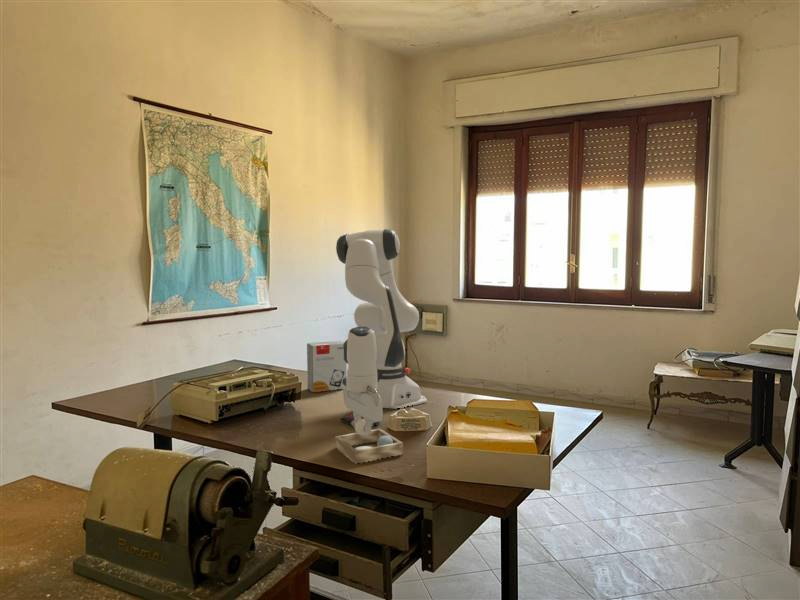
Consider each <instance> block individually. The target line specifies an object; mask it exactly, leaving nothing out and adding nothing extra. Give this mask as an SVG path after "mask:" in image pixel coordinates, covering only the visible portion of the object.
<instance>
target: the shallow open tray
mask: <svg viewBox="0 0 800 600" xmlns="http://www.w3.org/2000/svg"><path fill="white" fill-rule="evenodd" d="M383 430H384V429H383ZM383 430H382V429H381V428H378V429H374V430H371V432H370V433H368V434H367V435H365V436H361V435H359V434H357V433H356V432H353V433H348V434H342V435H335V436H334V439H335V440H334V441H335V442H334V443H335V447H334V448H335V449H336V448H337V449H338V452H340V453H341V452H342V453H343V454H342V453H341V454H342V455H343V456H345V458H347V459H348V458H349V459H348V460H350V461H351V462H352V463H353V462H354V463H355V464H354V463H353V464H354V465H358V464H357V463H360V464H364V463H363V462H365V463H369V462H368V461H370V462H374V461H378V460H377V459H379V460H382V459H381V458H384V459H387V458H386V457H389V458H392V457H391V456H394V457H397V456H398V455H399V456H403V455H404V442H402V441H401V440H399V439H398V438H397V437H395V436H393V435H391V434H390V433H388V432H387V431H385V430H384V431H383ZM381 436H389V437H390V438H391V439H392V440H393V443H392V444H387V445H382V446H377V445H376V446H371V447H372V448H367V449H362V450H356V449H355V448H356V447H355V448H354V446H358V445H359V444H360V445H364V443H365V444H370V443H375V442H377V441H378V439H379V438H380V437H381ZM369 442H370V443H369ZM353 445H354V446H353ZM337 449H336V450H337ZM402 454H403V455H402ZM373 460H374V461H373Z"/></svg>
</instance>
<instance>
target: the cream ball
mask: <svg viewBox="0 0 800 600" xmlns="http://www.w3.org/2000/svg"><path fill="white" fill-rule="evenodd" d="M364 426H365V419H360V420H358V421H357V422H356V424H355V428H354V431H355V433H357V434H359V435H361V436H365V435H367V434H368V433H366V432H364Z"/></svg>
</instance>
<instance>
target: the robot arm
mask: <svg viewBox="0 0 800 600" xmlns="http://www.w3.org/2000/svg"><path fill="white" fill-rule="evenodd" d="M400 249H401V242H400V239H399V236H398V234H397V232H396V231H395V230H393V229H388V228H387V229H386V228H385V229H372V230H364V231H359V232H353V233H351V234H349V233H347V234H343V235H341V236H339V237H338V239H337V241H336V247H335V253H336V256H337V258H338V260H339V261H340V263H342V264H345V265H344V279H345V281H344V282H345V287H346V289H347V291H348V292H349V293H350V294H351V295H352V296H353V297H355V298H357V299H358V300H361V301H363V302H364V303H360V304H358V305H357V307H356V309H355V310H354V313H353V314H354V315H353V317H354V319H353V320H354V323H355V324H356V327H353V328H351V329H350V330H348V334H347V338H346V340H345V341H343V342H344V344H343V347H344V361H345V362H346V363H347V367H348V368H347V376H346V377H343V378H342V384H343V385H344V387H343V389H342V391H343V402H344V406H345V408H347V409H349V410H350V411H351V412H353V415H354V419H355V424H356V422H357V421H358V420H360V419H361V416H362V417H363V418H365V426H364V432H366V433H370V432H371V426H372V424H373V423H374V422H382V420H383V418H384V416H383V415H384V413H383V412H384V411H383V409H394V410H398V409H397V408H400V409H405V408H408V407H407V406H409V407H412V405H413V406H417V405H420V404H425V403H427V402H428V399H427V397H426V396H425V395H422V393H421V392H422V391H421V389H420V386H419V384H417V383H416V381H414V380H412V379H411V378H409V376H407V375H406V374H410V373H411V368H409V367H404V366H402V362H403V361H404V360H405V354H406V348H405V343H404V341H403V339H402V335H401V333H404V332H405V333H406V332H411V331H414V330H415V329H416V327H418V325H419V321H420V314H419V310H418V308H417V307H416V306H415V305H413V304H411V302H409V301H408V300H407V299H406V298H405V297H404V296H403V294H402V293H401V292H400V290H399V289H398V286H397V282H396V279H395V275H394V268H393V264H392V260H393V259H396V258H397V257H398V255H399V253H400ZM404 407H405V408H404ZM400 409H399V410H400Z"/></svg>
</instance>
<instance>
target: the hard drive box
mask: <svg viewBox="0 0 800 600" xmlns="http://www.w3.org/2000/svg"><path fill="white" fill-rule="evenodd" d="M344 342H345V341H342V340H336V341H335V340H334V341H333V340H332V341H320V342H319V341H317V342H307V344H306V362H307V363H306V364H307V365H306V366H307V368H306V369H307V373H306V374H307V390H309V391H310V392H311V393H322V392H321V391H323V392H327V391H329V390H330V391H338V390H337V389H341V390H343V387H344V385H343V384H342V378H343V377H346V376H347V371H348V368H347V367H348V364H347V363H346V362H345V361H344V347H343V344H344Z"/></svg>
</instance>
